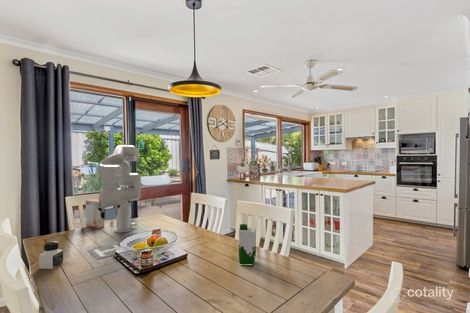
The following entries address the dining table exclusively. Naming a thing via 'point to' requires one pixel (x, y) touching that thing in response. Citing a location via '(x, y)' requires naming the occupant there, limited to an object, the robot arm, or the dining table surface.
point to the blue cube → (110, 213)
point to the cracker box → (93, 215)
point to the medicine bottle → (51, 256)
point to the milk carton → (247, 244)
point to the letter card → (104, 251)
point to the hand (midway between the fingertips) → (109, 217)
